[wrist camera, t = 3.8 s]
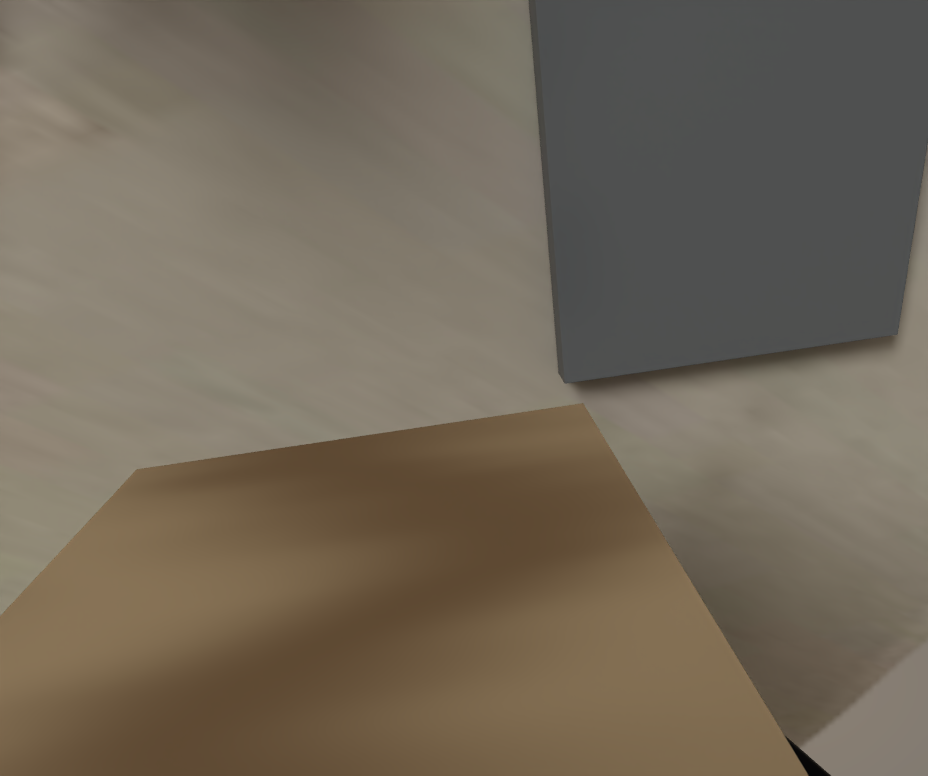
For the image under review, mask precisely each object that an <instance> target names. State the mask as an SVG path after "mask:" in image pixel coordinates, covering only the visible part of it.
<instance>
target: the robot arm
mask: <svg viewBox="0 0 928 776" xmlns="http://www.w3.org/2000/svg"><path fill="white" fill-rule="evenodd" d="M784 736H785V735H784ZM785 738H786V739H787V741H788V743H789V744H790V746H791V748H792V749H793V751H794V752H795V754H796V756H797V757H798V759H799V761H800V762H801V764H802V766H803V767H804V769H805V771H806V772H807V774H808V776H831V775H830V774H828V773H827V772H826V771H825V770H824V769H823V768H821V767H820V766H819V765H818V764H817V763H816V762H815V761H814V760H812V759H811V758H810V757H809V756H808V755H807V754H806V753H804V752H803V751H802V750H801V749H800V748H799V747H797V746H796V745H795V744H794V743H793V742H792V741H791V740H789V739H788V738H787V737H786V736H785Z"/></svg>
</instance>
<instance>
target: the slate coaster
mask: <svg viewBox="0 0 928 776" xmlns="http://www.w3.org/2000/svg"><path fill="white" fill-rule="evenodd" d="M529 10H530V23H531V35H532V48H533V60H534V73H535V85H536V98H537V110H538V123H539V135H540V147H541V160H542V172H543V185H544V197H545V210H546V222H547V235H548V247H549V260H550V272H551V284H552V297H553V309H554V322H555V334H556V347H557V359H558V372H559V375H560V376H561V378H562V380H563V382H564V383H572V382H579V381H586V380H593V379H599V378H606V377H613V376H620V375H626V374H633V373H640V372H647V371H654V370H660V369H667V368H674V367H681V366H688V365H694V364H701V363H708V362H715V361H721V360H728V359H735V358H742V357H749V356H755V355H762V354H769V353H776V352H782V351H789V350H796V349H803V348H810V347H816V346H823V345H830V344H837V343H843V342H850V341H857V340H864V339H871V338H877V337H884V336H891V335H898V328H899V322H900V315H901V309H902V303H903V296H904V290H905V284H906V277H907V271H908V264H909V258H910V252H911V245H912V239H913V233H914V226H915V220H916V213H917V207H918V201H919V194H920V188H921V181H922V175H923V169H924V162H925V156H926V150H927V143H928V0H529Z"/></svg>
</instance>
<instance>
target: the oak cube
mask: <svg viewBox="0 0 928 776" xmlns="http://www.w3.org/2000/svg"><path fill="white" fill-rule="evenodd" d="M0 776H808V774H807V772H806V771H805V769H804V767H803V766H802V764H801V762H800V761H799V759H798V757H797V756H796V754H795V752H794V751H793V749H792V748H791V746H790V744H789V743H788V741H787V739H786V738H785V736H784V734H783V733H782V731H781V729H780V728H779V726H778V724H777V723H776V721H775V719H774V718H773V716H772V715H771V713H770V711H769V710H768V708H767V706H766V705H765V703H764V701H763V700H762V698H761V696H760V695H759V693H758V691H757V690H756V688H755V686H754V685H753V683H752V681H751V680H750V678H749V677H748V675H747V673H746V672H745V670H744V668H743V667H742V665H741V663H740V662H739V660H738V658H737V657H736V655H735V653H734V652H733V650H732V648H731V647H730V645H729V644H728V642H727V640H726V639H725V637H724V635H723V634H722V632H721V630H720V629H719V627H718V625H717V624H716V622H715V620H714V619H713V617H712V615H711V614H710V612H709V611H708V609H707V607H706V606H705V604H704V602H703V601H702V599H701V597H700V596H699V594H698V592H697V591H696V589H695V587H694V586H693V584H692V582H691V581H690V579H689V577H688V576H687V574H686V573H685V571H684V569H683V568H682V566H681V564H680V563H679V561H678V559H677V558H676V556H675V554H674V553H673V551H672V549H671V548H670V546H669V544H668V543H667V541H666V540H665V538H664V536H663V535H662V533H661V531H660V530H659V528H658V526H657V525H656V523H655V521H654V520H653V518H652V516H651V515H650V513H649V511H648V510H647V508H646V507H645V505H644V503H643V502H642V500H641V498H640V497H639V495H638V493H637V492H636V490H635V488H634V487H633V485H632V483H631V482H630V480H629V478H628V477H627V475H626V474H625V472H624V470H623V469H622V467H621V465H620V464H619V462H618V460H617V459H616V457H615V455H614V454H613V452H612V450H611V449H610V447H609V445H608V444H607V442H606V440H605V439H604V437H603V436H602V434H601V432H600V431H599V429H598V427H597V426H596V424H595V422H594V421H593V419H592V417H591V416H590V414H589V412H588V411H587V409H586V407H585V406H584V404H583V403H582V404H575V405H569V406H562V407H555V408H548V409H542V410H535V411H528V412H521V413H515V414H508V415H501V416H494V417H488V418H481V419H474V420H467V421H461V422H454V423H447V424H440V425H434V426H427V427H420V428H413V429H407V430H400V431H393V432H386V433H380V434H373V435H366V436H360V437H353V438H346V439H339V440H333V441H326V442H319V443H312V444H306V445H299V446H292V447H285V448H279V449H272V450H265V451H258V452H252V453H245V454H238V455H231V456H225V457H218V458H211V459H204V460H198V461H191V462H184V463H177V464H171V465H164V466H157V467H150V468H144V469H137V470H136V471H135V472H134V473H133V474H132V475H131V476H130V477H129V478H128V480H127V481H126V482H125V483H124V484H123V485H122V486H121V487H120V488H119V489H118V490H117V491H116V492H115V493H114V495H113V496H112V497H111V498H110V499H109V500H108V501H107V502H106V503H105V504H104V505H103V506H102V507H101V509H100V510H99V511H98V512H97V513H96V514H95V515H94V516H93V517H92V518H91V519H90V520H89V521H88V522H87V524H86V525H85V526H84V527H83V528H82V529H81V530H80V531H79V532H78V533H77V534H76V535H75V536H74V538H73V539H72V540H71V541H70V542H69V543H68V544H67V545H66V546H65V547H64V548H63V549H62V550H61V551H60V553H59V554H58V555H57V556H56V557H55V558H54V559H53V560H52V561H51V562H50V563H49V564H48V565H47V567H46V568H45V569H44V570H43V571H42V572H41V573H40V574H39V575H38V576H37V577H36V578H35V579H34V580H33V582H32V583H31V584H30V585H29V586H28V587H27V588H26V589H25V590H24V591H23V592H22V593H21V594H20V596H19V597H18V598H17V599H16V600H15V601H14V602H13V603H12V604H11V605H10V606H9V607H8V608H7V609H6V611H5V612H4V613H3V614H2V615H1V616H0Z"/></svg>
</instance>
